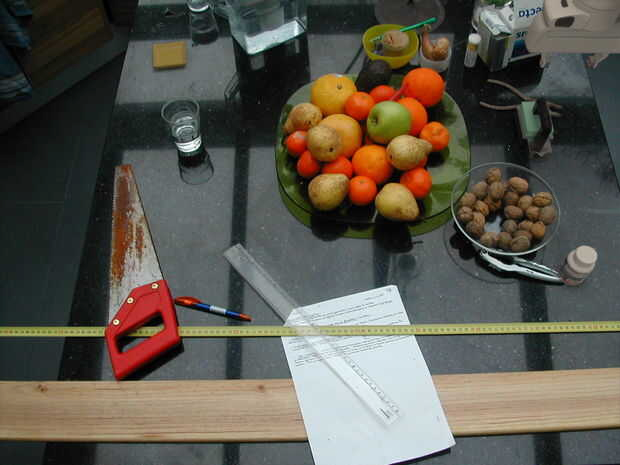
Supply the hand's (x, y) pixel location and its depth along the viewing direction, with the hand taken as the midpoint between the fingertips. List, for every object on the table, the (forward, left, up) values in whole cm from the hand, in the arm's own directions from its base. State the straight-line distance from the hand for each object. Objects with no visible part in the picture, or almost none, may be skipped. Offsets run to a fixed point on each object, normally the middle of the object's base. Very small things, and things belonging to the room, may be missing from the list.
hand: (567, 65), depth 116 cm
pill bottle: (-2, +36, -23) cm, 43 cm away
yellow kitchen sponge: (+92, -26, -23) cm, 98 cm away
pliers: (+1, -13, -23) cm, 26 cm away
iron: (0, 0, -23) cm, 23 cm away
